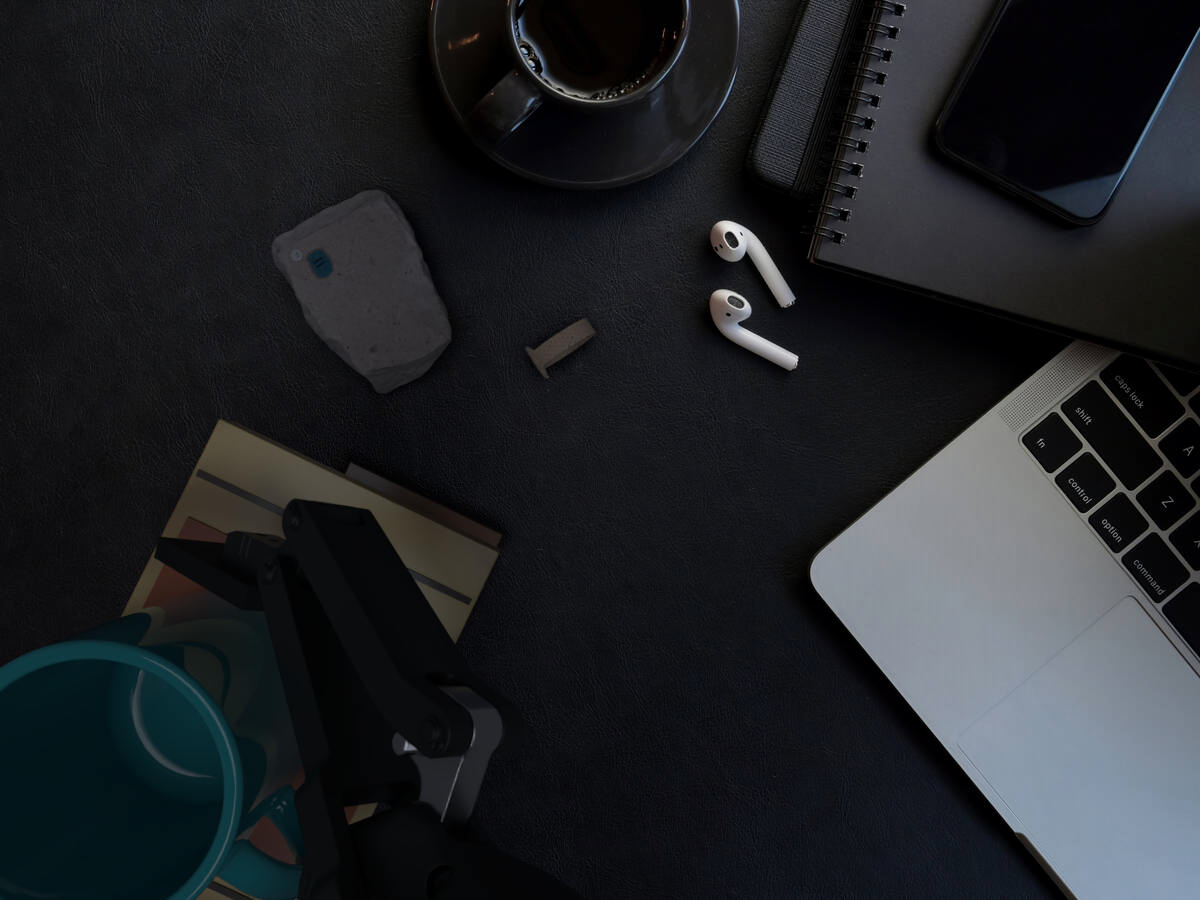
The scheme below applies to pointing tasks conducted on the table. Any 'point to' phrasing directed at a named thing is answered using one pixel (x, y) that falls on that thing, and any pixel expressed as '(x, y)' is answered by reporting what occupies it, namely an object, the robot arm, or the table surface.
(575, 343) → the flanged peg
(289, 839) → the cup
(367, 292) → the decorative stone
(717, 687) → the table surface
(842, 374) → the table surface
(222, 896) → the board
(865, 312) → the table surface
